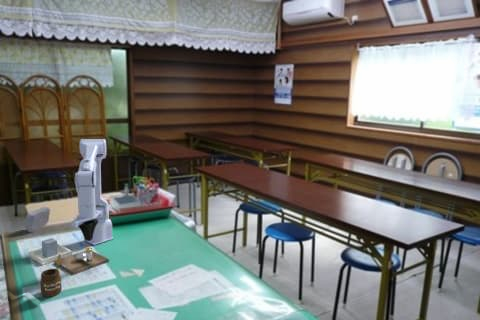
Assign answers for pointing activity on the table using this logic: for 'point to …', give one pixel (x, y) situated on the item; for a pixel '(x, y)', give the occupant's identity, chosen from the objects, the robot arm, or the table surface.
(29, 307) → the table surface
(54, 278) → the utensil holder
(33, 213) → the stone block
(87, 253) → the crank
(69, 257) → the crank base
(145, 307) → the table surface
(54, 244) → the block
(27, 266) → the table surface
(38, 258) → the tray
